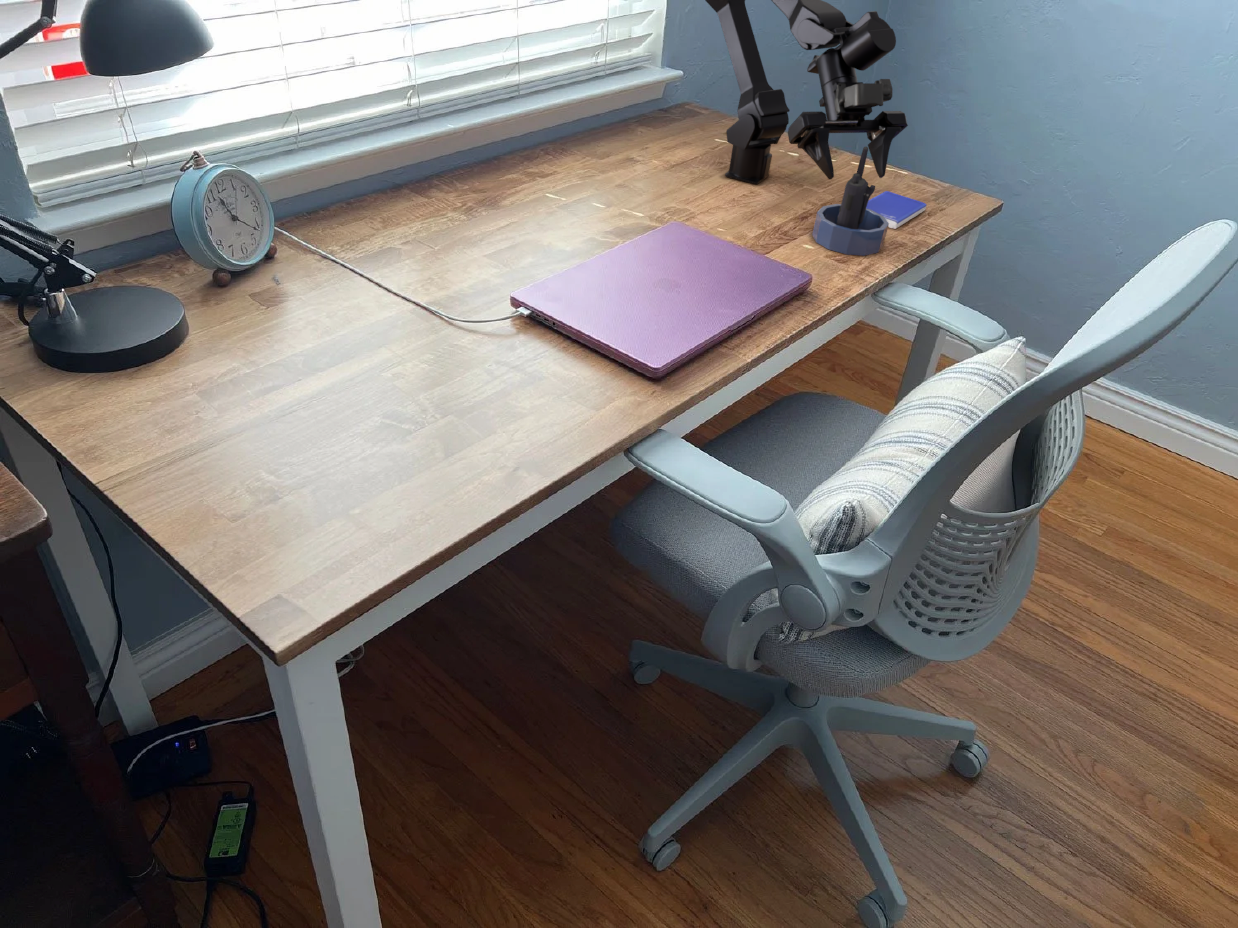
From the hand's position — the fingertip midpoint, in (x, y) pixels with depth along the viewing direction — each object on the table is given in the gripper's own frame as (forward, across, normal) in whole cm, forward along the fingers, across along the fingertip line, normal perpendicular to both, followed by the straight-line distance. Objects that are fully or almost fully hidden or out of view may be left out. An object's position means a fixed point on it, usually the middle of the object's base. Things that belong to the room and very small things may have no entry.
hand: (857, 177), depth 151 cm
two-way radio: (+8, 0, +6) cm, 10 cm away
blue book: (+1, +14, +13) cm, 19 cm away
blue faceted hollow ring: (+8, 0, +6) cm, 10 cm away
